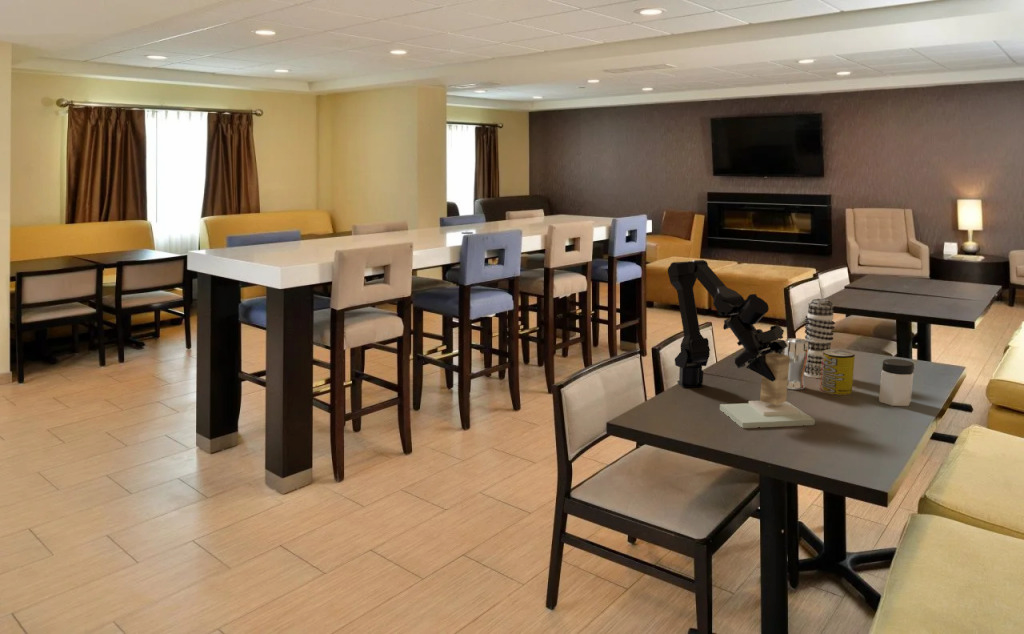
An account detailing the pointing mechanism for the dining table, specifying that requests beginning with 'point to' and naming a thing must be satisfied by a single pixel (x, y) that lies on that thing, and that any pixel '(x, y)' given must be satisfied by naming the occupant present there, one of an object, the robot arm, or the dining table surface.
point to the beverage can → (837, 371)
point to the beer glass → (796, 362)
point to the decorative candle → (818, 334)
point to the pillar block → (777, 388)
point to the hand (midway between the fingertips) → (779, 378)
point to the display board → (766, 414)
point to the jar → (896, 382)
